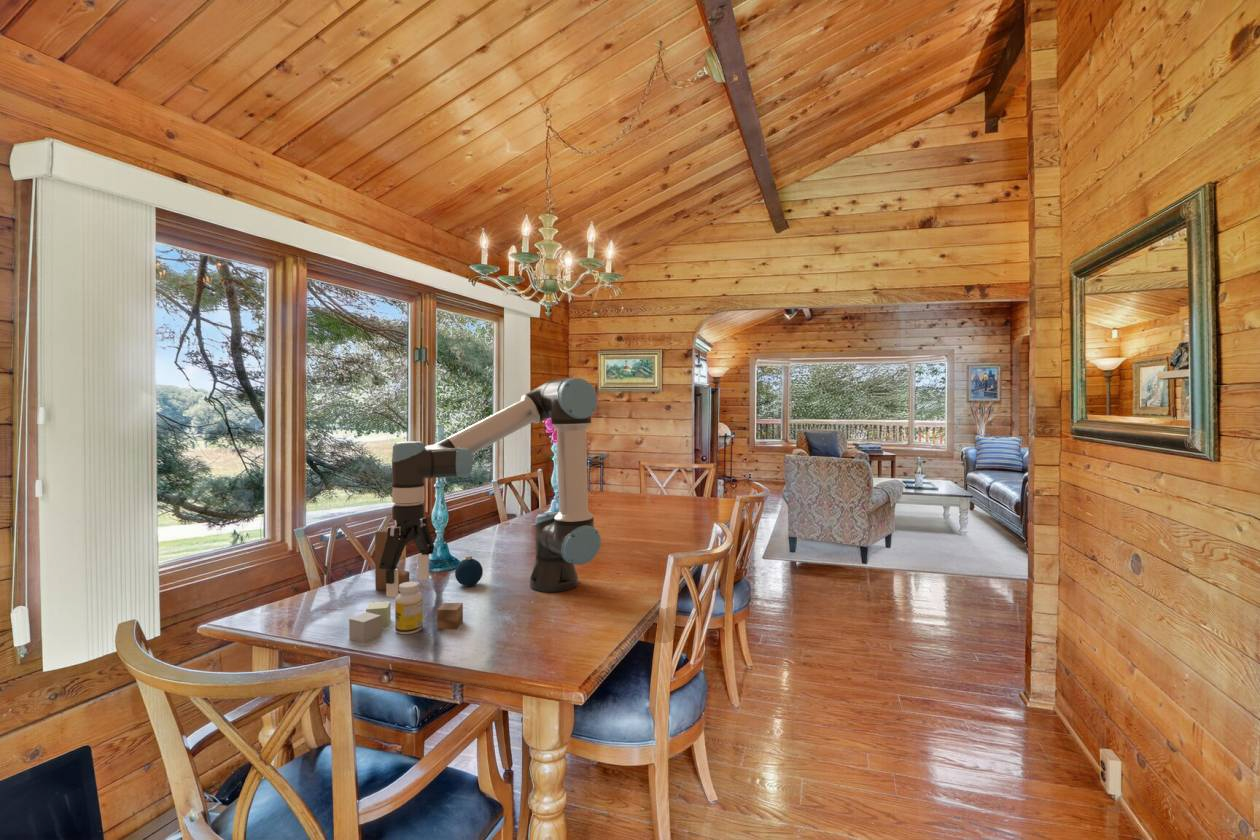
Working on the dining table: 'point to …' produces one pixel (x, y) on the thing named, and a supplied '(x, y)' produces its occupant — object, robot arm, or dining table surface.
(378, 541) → the wooden block
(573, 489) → the robot arm
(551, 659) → the dining table surface
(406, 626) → the pill bottle
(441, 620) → the walnut cube
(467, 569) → the christmas ornament
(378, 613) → the sage cube
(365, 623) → the taupe cube
